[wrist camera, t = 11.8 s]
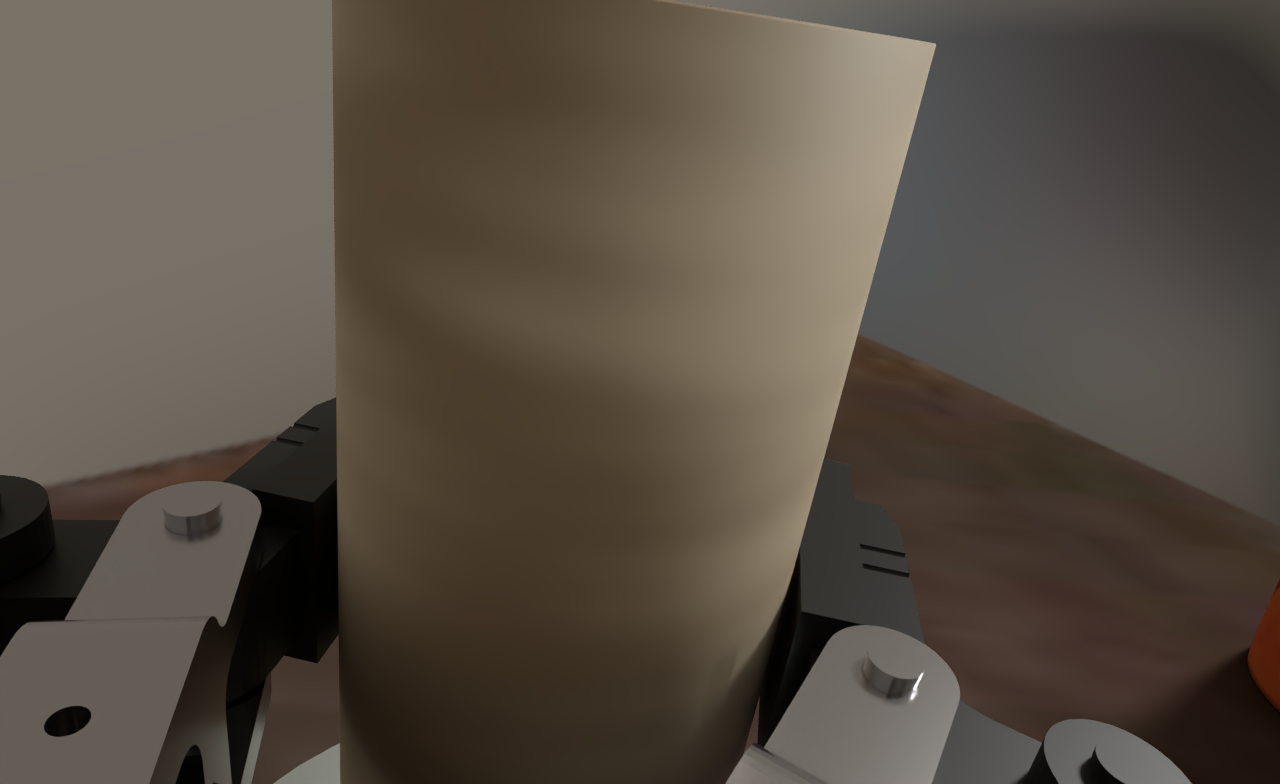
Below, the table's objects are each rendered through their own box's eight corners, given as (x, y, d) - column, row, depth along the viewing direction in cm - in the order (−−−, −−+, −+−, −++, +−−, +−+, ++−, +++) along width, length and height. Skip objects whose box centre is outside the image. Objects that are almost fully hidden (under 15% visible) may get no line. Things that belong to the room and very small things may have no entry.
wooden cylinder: (687, 870, 15) (897, 36, 9) (644, 1228, 11) (999, 56, 5) (422, 804, 16) (462, -34, 10) (273, 1122, 11) (183, -74, 5)
